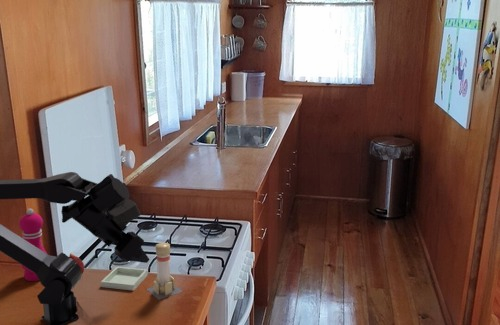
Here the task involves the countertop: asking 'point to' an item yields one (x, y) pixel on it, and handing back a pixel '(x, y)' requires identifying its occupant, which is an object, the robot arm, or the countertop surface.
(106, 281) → the tray
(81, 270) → the onion
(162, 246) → the white and tan post
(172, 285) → the grey stand with brackets
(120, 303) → the countertop surface
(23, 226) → the pepper mill
